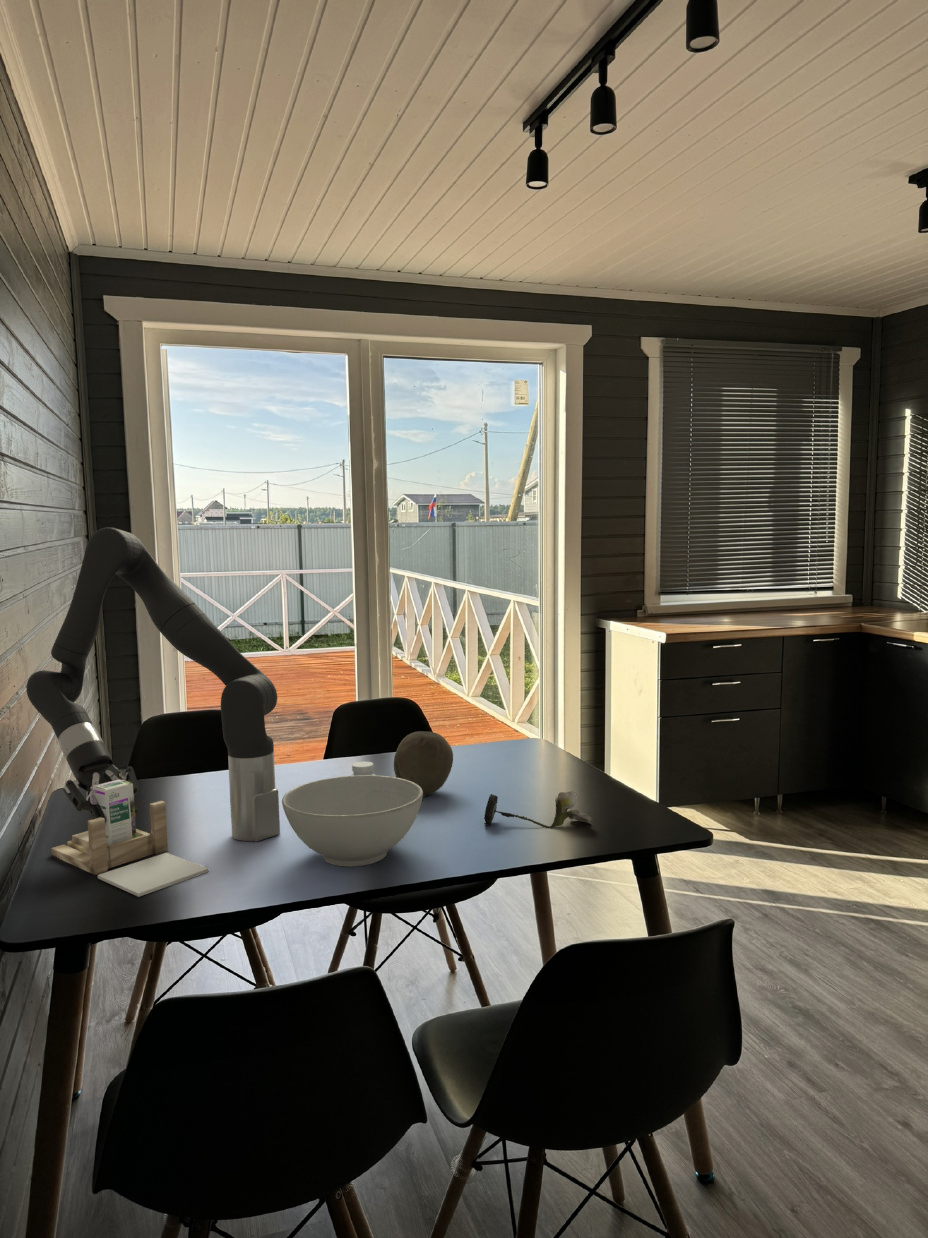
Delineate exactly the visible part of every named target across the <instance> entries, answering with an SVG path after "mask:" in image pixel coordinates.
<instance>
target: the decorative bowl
mask: <svg viewBox="0 0 928 1238" xmlns="http://www.w3.org/2000/svg"><path fill="white" fill-rule="evenodd" d="M375 775H376V774H375ZM375 775H357V776H351V775H346V776H345V775H344V776H335V777H329V778H324V779H319V780H314V781H310V782H307V783H304V784H301V785H299V786H296V787H293V788H292V789H290V790H288V791H287V792H285V794H284V795H283V797H282V799H281V804H282V808H283V812H284V814H285V817H286V819H287V821H288V823H289V825H290V827H291V829H292V830H293V832H294V833H295V834H296V836H297V837H298V838H299V840H301V842H302V843H304V844H305V845H306V846H307V847H308V848H309V849H310V850H312V851H313V852H315V853H317V854H319V855H321V856H322V859H323V860H324V861H325V862H326V863H328V864H330V865H333V866H337V867H351V868H352V867H360V866H361V867H362V866H367V865H371V864H375V863H377V862H380V861H382V860H383V859H384V858H385V857H387V855H388V851H390V850H391V849H392V848H393V847H396V845H397V844H399V843H400V842H401V840H403V838H404V837H405V836H406V835H407V834H408V832H409V831H410V829H411V828H412V826H413V824H414V823H415V820H416V819H417V816H418V814H419V812H420V809H421V805H422V801H423V797H424V796H423V791H422V789H421V787H420V786H419V785H417V784H415V783H413V782H411V781H408V780H405V779H401V778H396V776H395V777H394V776H388V775H387V776H386V775H376V776H375Z"/></svg>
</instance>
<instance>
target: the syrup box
mask: <svg viewBox="0 0 928 1238" xmlns="http://www.w3.org/2000/svg"><path fill="white" fill-rule="evenodd" d="M91 788H92V787H91ZM93 790H94V795H95V797H96V799H97V805H98V804H99V805H100V807H101V809H102V811H103V813H104V815H105V817H106V822H105V833H106V846H109V845H112V844H115V843H119V842H122V841H125V840H129V839H132V838H135V837H136V829H137V824H136V815H135V808H134V800H135V797H134V794H133V784H132V783H131V782H128V781H125V780H122V779H120V780H115V781H111V782H107V783H103V784H99V785H95V786H93Z"/></svg>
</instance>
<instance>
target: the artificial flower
mask: <svg viewBox="0 0 928 1238" xmlns="http://www.w3.org/2000/svg"><path fill="white" fill-rule="evenodd" d="M498 798H499V797H498V796H497V795H494V794H492V793H491V794H490V795H489V797H488V799H487V803H486V806H485V811H484V818H483V819H484V822H483V824H484V825H485V826H486V825H487V826H491V824H492V822H493V820H494V818H495V814H496V813H498V814H500V815H501V816H503V817H506V818H517V819H521V820H524V821H528V822H531V823H533V824H536V825H537V826H540V827H543V828H544V827H546V828H545V829H552V828H556V827H560V826H563V824H564V822H565V820H566V819H570V820H576V821H578V822H580V823H587V824H589V825H591V824H592V822H593V818H592V817H590V816H589V815H588V814H586V813H585V812H584V813H581V812H580V811H579V809H573V808H574V807H575V806H576V805H577V803H578V799H579V797H578V795H577V793H576V791H574V790H572V791H561V792H559V793H558V795H557V796H555V815H554V818H553V821H552V824H551V825H546V824H544V823H541V822H538V821H535V820H533V819H531V818H528V817H527V816H526V817H525V816H523V815H522V816H521V815H518V814H515V813H514V814H513V813H510V812H503V811H499V810H497V805H498Z"/></svg>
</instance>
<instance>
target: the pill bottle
mask: <svg viewBox="0 0 928 1238" xmlns="http://www.w3.org/2000/svg"><path fill="white" fill-rule="evenodd" d="M351 765H352V766H351V770H352V772H353V774H350V776H357V775H375V776H377V775H376V774H375V773H373V771H374V763H373V762H371V761H357V762H353V763H352V764H351Z"/></svg>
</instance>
